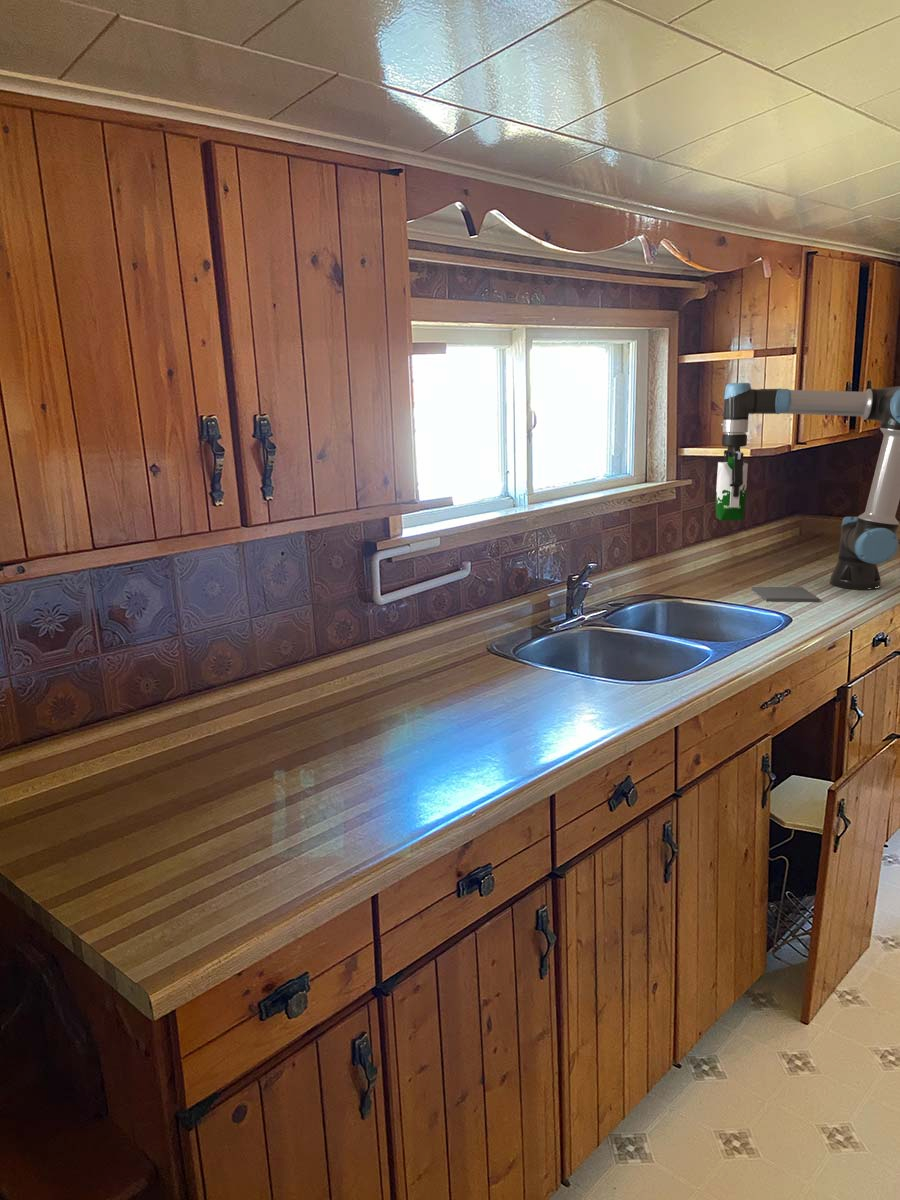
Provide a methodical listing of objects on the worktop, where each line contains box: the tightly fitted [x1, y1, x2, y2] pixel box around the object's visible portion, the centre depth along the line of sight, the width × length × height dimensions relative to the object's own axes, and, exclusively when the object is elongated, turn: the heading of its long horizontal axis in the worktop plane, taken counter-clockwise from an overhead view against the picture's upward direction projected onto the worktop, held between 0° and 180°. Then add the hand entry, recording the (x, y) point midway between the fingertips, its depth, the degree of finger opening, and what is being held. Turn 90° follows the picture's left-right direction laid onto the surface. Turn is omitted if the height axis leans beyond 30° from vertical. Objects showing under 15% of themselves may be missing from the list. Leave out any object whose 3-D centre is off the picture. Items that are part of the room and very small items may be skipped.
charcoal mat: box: [751, 586, 821, 603], centre depth 266 cm, size 16×16×1 cm
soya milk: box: [715, 457, 749, 521], centre depth 267 cm, size 9×9×20 cm
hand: (730, 505), depth 268 cm, fingers closed on soya milk, 9 cm apart
